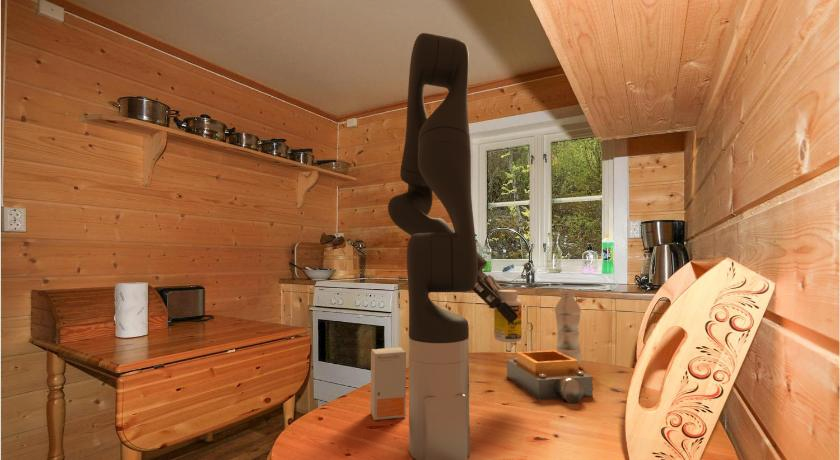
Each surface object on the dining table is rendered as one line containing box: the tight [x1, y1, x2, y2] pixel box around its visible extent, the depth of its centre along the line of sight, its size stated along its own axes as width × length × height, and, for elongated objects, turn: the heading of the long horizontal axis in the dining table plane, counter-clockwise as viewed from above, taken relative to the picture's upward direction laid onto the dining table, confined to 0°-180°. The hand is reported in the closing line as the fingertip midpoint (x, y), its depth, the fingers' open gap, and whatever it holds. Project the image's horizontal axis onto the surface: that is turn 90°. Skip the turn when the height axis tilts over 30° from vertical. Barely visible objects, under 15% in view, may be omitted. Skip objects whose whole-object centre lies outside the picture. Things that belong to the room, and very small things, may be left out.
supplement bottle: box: [493, 289, 522, 343], centre depth 90 cm, size 6×6×10 cm
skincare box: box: [370, 347, 407, 421], centre depth 81 cm, size 6×4×12 cm
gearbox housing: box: [506, 349, 594, 404], centre depth 96 cm, size 20×12×6 cm, turn 11°
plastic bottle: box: [554, 288, 583, 366], centre depth 114 cm, size 6×7×20 cm
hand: (516, 317), depth 90 cm, fingers closed on supplement bottle, 5 cm apart
